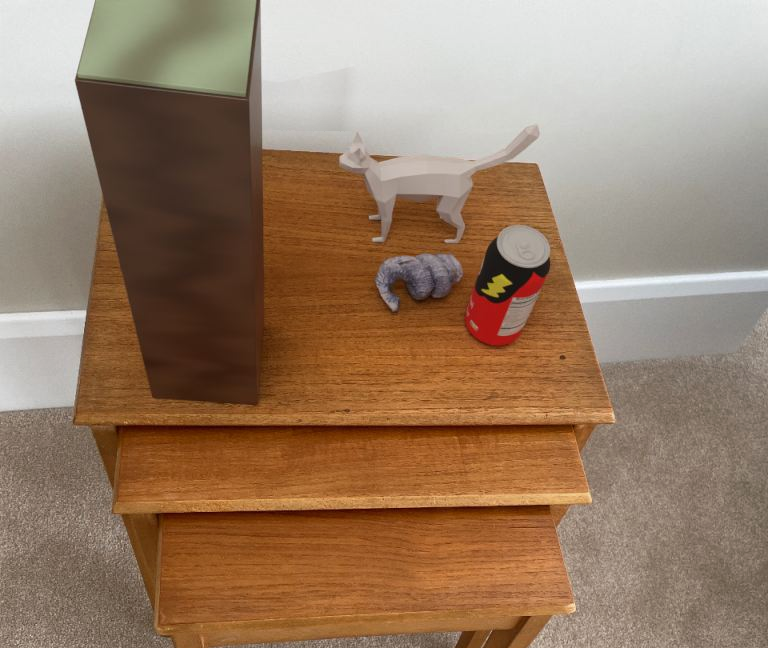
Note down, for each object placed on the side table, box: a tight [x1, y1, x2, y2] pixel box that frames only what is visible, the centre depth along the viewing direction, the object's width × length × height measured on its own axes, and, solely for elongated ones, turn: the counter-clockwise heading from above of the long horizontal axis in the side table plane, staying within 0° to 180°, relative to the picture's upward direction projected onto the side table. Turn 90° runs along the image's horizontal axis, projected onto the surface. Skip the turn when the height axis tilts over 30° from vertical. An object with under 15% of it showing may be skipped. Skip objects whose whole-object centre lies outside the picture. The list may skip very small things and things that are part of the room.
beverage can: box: [464, 224, 551, 347], centre depth 78 cm, size 6×6×12 cm
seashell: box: [374, 252, 464, 312], centre depth 82 cm, size 5×5×10 cm
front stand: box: [74, 0, 265, 406], centre depth 62 cm, size 10×10×33 cm
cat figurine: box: [338, 123, 541, 244], centre depth 82 cm, size 4×20×14 cm, turn 97°
